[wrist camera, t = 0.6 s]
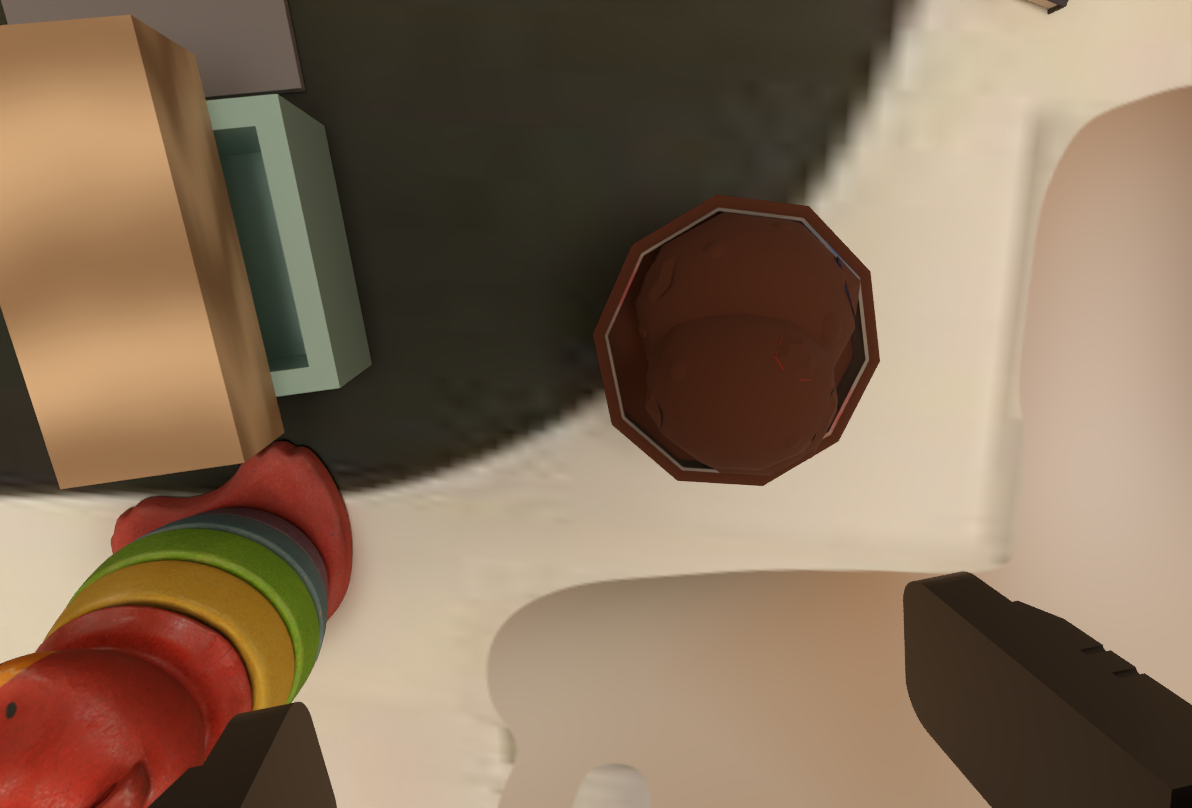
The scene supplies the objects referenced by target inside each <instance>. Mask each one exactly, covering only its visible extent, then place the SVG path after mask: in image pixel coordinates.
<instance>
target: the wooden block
mask: <svg viewBox="0 0 1192 808" xmlns="http://www.w3.org/2000/svg"><path fill="white" fill-rule="evenodd" d="M0 306H1V309H2V312H3V315H4V318H5V321H6V324H7V327H8V330H9V333H10V336H11V339H12V342H13V345H14V349H15V352H16V355H17V358H18V361H19V364H20V367H21V370H22V373H23V376H24V379H25V382H26V385H27V388H28V391H29V394H30V398H31V401H32V404H33V407H34V410H35V413H36V416H37V419H38V422H39V425H40V428H41V431H42V434H43V437H44V440H45V443H46V446H47V450H48V453H49V456H50V459H51V462H52V465H53V468H54V471H55V474H56V477H57V480H58V483H59V486H60V489H65V488H72V487H79V486H86V485H93V484H100V483H107V482H114V481H121V480H128V479H135V478H142V477H149V476H156V475H163V474H170V473H177V472H184V471H191V470H198V469H205V468H212V467H219V466H225V465H232V464H239V463H245V462H246V461H248V460H249V459H250V458H252V457H253V456H254V455H256V454H257V453H258V452H260V451H261V450H262V449H264V448H265V447H266V446H268V445H269V444H270V443H271V442H273V441H274V440H275V439H277V438H278V437H279V436H281V435H282V434H283V433H285V432H284V428H283V424H282V420H281V415H280V411H279V407H278V403H277V399H276V394H275V390H274V386H273V382H272V378H271V373H270V369H269V365H268V361H267V356H266V352H265V348H264V344H263V340H262V335H261V331H260V327H259V323H258V318H257V314H256V310H255V306H254V302H253V297H252V293H251V289H250V285H249V280H248V276H247V272H246V268H245V264H244V259H243V255H242V251H241V247H240V243H239V238H238V234H237V230H236V226H235V221H234V217H233V213H232V209H231V205H230V200H229V196H228V192H227V188H226V183H225V179H224V175H223V171H222V167H221V162H220V158H219V154H218V150H217V146H216V141H215V137H214V133H213V129H212V124H211V120H210V116H209V112H208V108H207V103H206V99H205V95H204V91H203V86H202V82H201V78H200V74H199V70H198V65H197V61H196V57H195V55H194V54H192V53H191V52H189V51H188V50H186V49H184V48H183V47H181V46H180V45H178V44H176V43H175V42H173V41H172V40H170V39H169V38H167V37H165V36H164V35H162V34H161V33H159V32H157V31H156V30H154V29H153V28H151V27H149V26H148V25H146V24H145V23H143V22H141V21H140V20H138V19H137V18H135V17H134V16H132V15H120V16H108V17H96V18H84V19H72V20H60V21H48V22H36V23H24V24H12V25H1V26H0Z"/></svg>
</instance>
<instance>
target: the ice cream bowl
mask: <svg viewBox="0 0 1192 808" xmlns="http://www.w3.org/2000/svg"><path fill="white" fill-rule="evenodd" d="M593 338H594V342H595V347H596V352H597V357H598V361H599V366H600V371H601V375H602V380H603V385H604V389H605V394H606V399H607V403H608V408H609V413H610V418H611V422H612V425H613V426H614V427H615V428H617V429H618V430H619V431H620V432H621V433H622V434H624V435H625V436H626V437H627V438H628V439H629V440H631V441H632V442H633V443H634V444H635V445H636V446H638V447H639V448H640V449H641V450H642V451H643V452H645V453H646V454H647V455H648V456H649V457H650V458H652V459H653V460H654V461H655V462H656V463H657V464H659V465H660V466H661V467H662V468H663V469H665V470H666V471H667V472H668V473H669V474H670V475H672V476H673V477H674V478H675V479H676V480H677V481H692V482H708V483H724V484H740V485H756V486H763V485H765V484H767V483H768V482H770V481H772V480H774V479H775V478H777V477H779V476H780V475H782V474H784V473H785V472H787V471H789V470H791V469H792V468H794V467H796V466H797V465H799V464H801V463H802V462H804V461H806V460H807V459H809V458H812V457H813V456H814V455H816V454H818V453H819V452H821V451H823V450H824V449H826V448H828V447H829V446H831V445H833V444H835V443H836V442H838V441H839V439H840V437H841V435H842V433H843V432H844V430H845V428H846V426H847V424H848V422H849V420H850V418H851V416H852V414H853V412H854V410H855V408H856V406H857V404H858V402H859V401H860V399H861V397H862V395H863V393H864V391H865V389H866V387H867V385H868V383H869V381H870V379H871V377H872V375H873V373H874V371H875V369H876V368H877V366H878V364H879V362H880V358H879V348H878V339H877V330H876V320H875V311H874V302H873V292H872V283H871V274H870V271H869V270H868V269H867V267H866V266H865V265H864V264H863V263H862V262H861V261H860V260H859V259H858V258H857V257H856V256H855V255H854V254H853V253H852V252H851V251H850V249H849V248H848V247H847V246H846V245H845V244H844V243H843V242H842V241H841V240H840V239H839V238H838V237H837V236H836V235H835V234H834V232H833V231H832V230H831V229H830V228H829V227H828V226H827V225H826V224H825V223H824V222H823V221H822V220H821V219H820V218H819V217H818V215H817V214H816V213H815V212H814V211H813V210H812V209H811V208H810V207H809V206H803V205H795V204H787V203H779V202H771V201H763V200H755V199H747V198H739V197H731V196H723V195H715V196H713V197H712V198H710V199H708V200H707V201H705V202H703V203H702V204H700V205H698V206H697V207H695V208H693V209H692V210H690V211H688V212H687V213H685V214H683V215H682V216H680V217H678V218H676V219H675V220H673V221H671V222H670V223H668V224H666V225H665V226H663V227H661V228H660V229H658V230H656V231H655V232H653V233H651V234H650V235H648V236H646V237H645V238H643V239H641V240H640V241H638V242H636V243H635V244H633V245H632V247H631V249H630V251H629V253H628V256H627V258H626V260H625V262H624V265H623V267H622V269H621V272H620V274H619V276H618V278H617V281H616V283H615V285H614V287H613V290H612V292H611V294H610V297H609V299H608V301H607V303H606V306H605V308H604V310H603V313H602V315H601V317H600V319H599V322H598V324H597V326H596V328H595V331H594V333H593Z"/></svg>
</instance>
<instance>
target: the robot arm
mask: <svg viewBox="0 0 1192 808" xmlns="http://www.w3.org/2000/svg"><path fill="white" fill-rule="evenodd" d="M903 606H904V639H905V671H906V684H907V689H908V694H909V697H910V700H911V703H912V706H913V708H914V710H915V713H916V715H917V717H918V718H919V720H920V722H921V723H922V725H923V727H924V728H925V729H926V730H927V732H928V733H929V734H930V736H931V737H932V738H933V739H934V740H935V741H936V743H937V744H938V745H939V746H940V747H941V748H942V750H943V751H944V752H945V753H946V754H947V755H948V757H949V758H950V759H951V760H952V761H953V763H954V764H955V765H956V766H957V767H958V768H959V770H960V771H961V772H962V773H963V774H964V775H965V777H966V778H967V779H968V780H969V781H970V783H972V785H973V786H974V787H975V788H976V790H977V791H978V792H979V793H980V794H981V795H982V797H983V798H984V799H985V800H986V801H987V802H988V804H989V805H990V806H991V807H992V808H1192V705H1191V704H1189V703H1188V702H1186V701H1185V700H1184V699H1182V698H1180V697H1179V696H1178V695H1176V694H1174V693H1173V692H1172V691H1170V690H1169V689H1167V688H1166V687H1164V686H1163V685H1161V684H1160V683H1158V682H1157V681H1155V680H1154V679H1152V678H1151V677H1149V676H1148V675H1146V674H1139V673H1138V672H1137V670H1136V667H1135V666H1133V665H1132V664H1130V663H1129V662H1127V661H1125V660H1124V659H1123V658H1121V657H1120V656H1118V655H1117V654H1115V653H1114V652H1112V651H1111V650H1110V651H1105V650H1104V648H1103V645H1102V644H1100V643H1099V642H1097V641H1096V640H1094V639H1093V638H1091V637H1090V636H1089V635H1087V634H1086V633H1084V632H1083V631H1081V630H1080V629H1078V628H1077V627H1075V626H1074V625H1072V624H1071V623H1069V622H1067V621H1066V620H1065V619H1063V618H1060V617H1057V616H1055V615H1053V614H1050V613H1048V612H1045V611H1042V610H1040V609H1037V608H1035V607H1032V606H1030V605H1027V604H1025V603H1022V602H1020V601H1014V602H1011V601H1010V600H1009V599H1007V598H1006V597H1004V596H1003V595H1001V594H1000V593H999V592H997V591H996V590H994V589H993V588H992V587H990V586H989V585H987V584H986V583H985V582H983V581H982V580H980V579H979V578H978V577H976V576H975V575H973V574H971V573H969V572H963V571H962V572H957V573H952V574H947V575H942V576H938V577H932V578H927V579H922V580H918V581H912V582H910V583H908V584H907V586H906V587H905V590H904V595H903ZM147 808H337V806H336V800H335V796H334V793H333V789H332V786H331V783H330V779H329V776H328V772H327V769H326V766H325V762H324V759H323V755H322V752H321V749H320V745H319V742H318V739H317V735H316V732H315V728H314V725H313V722H312V718H311V715H310V713H309V711H308V709H307V707H306V706H305V705H304V704H303V703H302V702H295V703H290V704H285V705H280V706H275V707H270V708H265V709H260V710H254V711H249V712H244V713H239V714H237V715H235V716H234V717H233V718H232V719H231V720H230V721H229V723H228V724H227V726H226V727H225V729H224V731H223V732H222V734H221V736H220V737H219V739H218V741H217V742H216V744H215V745H214V747H213V749H212V750H211V752H210V754H209V755H208V757H207V759H206V760H205V762H204V764H203V765H201V766H196V767H191V768H188V769H187V770H186V771H185V772H184V773H183V774H182V775H181V776H180V777H179V778H178V779H177V780H176V781H175V782H174V783H173V784H172V785H171V786H169V787H168V788H167V789H166V790H165V791H164V792H163V793H162V794H161V795H160V796H159V797H158V798H157V799H156V800H155V801H154V802H153V803H152V804H150V805H149V806H148V807H147Z"/></svg>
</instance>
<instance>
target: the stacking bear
mask: <svg viewBox="0 0 1192 808" xmlns="http://www.w3.org/2000/svg"><path fill="white" fill-rule="evenodd" d="M111 546H112V552H113V555H112V556H111V557H109V558H108V559H107V560H106V561H105V562H104V563H103V564H102V565H100V566H99V567H98V568H97V569H96V570H95V571H94V573H93V574H92V575H91V576H90V577H89V578H88V579H87V580H86V581H85V582H84V583H83V585H82V586H81V587H80V588H79V589H78V591H77V592H76V593H75V595H74V596H73V597H72V599H71V600H70V602H69V603H68V605H67V607H66V609H65V610H64V611H63V613H62V614H61V615H60V617H59V618H58V619H57V621H56V622H55V624H54V625H53V627H52V628H51V630H50V631H49V633H48V634H47V636H46V638H45V640H44V641H43V643H42V644H41V645H40V646H39V648H38V649H37V651H36V652H35V653H32V654H28V655H25V656H21V657H18V658H15V659H12V660H9V661H6V662H4V663H1V664H0V808H147V807H148V806H149V805H150V804H152V803H153V802H154V801H155V800H156V799H157V798H158V797H159V796H160V795H161V794H162V793H163V792H164V791H165V790H166V789H167V788H168V787H169V786H171V785H172V784H173V783H174V782H175V781H176V780H177V779H178V778H179V777H180V776H181V775H182V774H183V773H184V772H185V771H186V770H187V769H188V768H191V767H196V766H201V765H203V764H204V762H205V760H206V759H207V757H208V755H209V754H210V752H211V750H212V749H213V747H214V745H215V744H216V742H217V741H218V739H219V737H220V736H221V734H222V732H223V731H224V729H225V727H226V726H227V724H228V723H229V721H230V720H231V719H232V718H233V717H234V716H235V715H237V714H239V713H244V712H249V711H254V710H260V709H265V708H270V707H275V706H280V705H285V704H290V703H291V702H292V701H293V699H294V698H295V697H296V695H297V694H298V692H299V691H300V689H301V688H302V686H303V685H304V683H305V682H306V680H307V678H308V676H309V675H310V673H311V671H312V668H313V666H314V664H315V662H316V660H317V658H318V655H319V652H320V649H321V646H322V642H323V638H324V634H325V628H326V622H327V620H328V619H329V618H330V617H331V616H332V615H333V614H334V612H335V611H336V610H337V608H338V607H339V605H340V603H341V602H342V600H343V598H344V596H345V593H346V591H347V588H348V585H349V581H350V575H351V565H352V540H351V532H350V526H349V521H348V516H347V513H346V509H345V506H344V503H343V500H342V498H341V495H340V493H339V491H338V488H337V487H336V485H335V483H334V481H333V479H332V477H331V476H330V474H329V472H328V471H327V469H326V468H325V466H324V465H323V463H322V462H321V461H320V459H319V458H318V457H317V456H316V455H315V454H314V453H313V452H312V451H311V450H310V449H308V448H306V447H303V446H301V447H296V446H294V445H293V444H291V443H289V442H286V441H277V442H274V443H273V444H272V445H271V446H266V447H265V448H264V449H262V450H261V451H260V452H258V453H257V454H256V455H254V456H253V457H252V458H250V459H249V460H248V461H246V462H245V463H242V464H241V466H240V467H239V469H238V470H237V472H236V473H235V474H234V476H233V477H232V478H231V479H230V480H229V481H228V482H226V483H225V484H224V485H223V486H221V487H219V488H218V489H216V490H214V491H211V492H209V493H207V494H204V495H200V496H196V497H190V498H176V497H163V496H159V497H150V498H147V499H144V500H142V501H141V502H139V503H138V504H137V505H136V506H135V507H133V508H130V509H128V510H126V511H125V512H124V513H123V514H121V515H120V517H119V518H118V519H117V522H116V525H115V530H114V535H113V536H112V538H111Z"/></svg>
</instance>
